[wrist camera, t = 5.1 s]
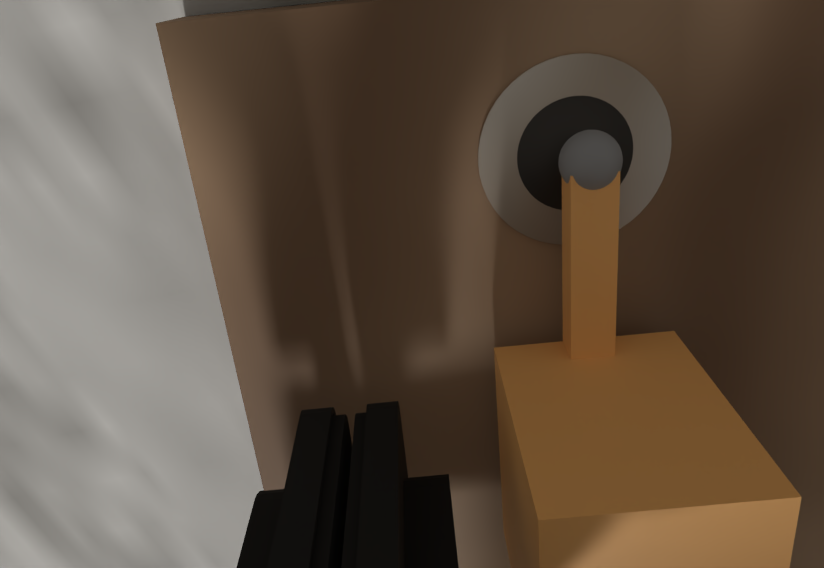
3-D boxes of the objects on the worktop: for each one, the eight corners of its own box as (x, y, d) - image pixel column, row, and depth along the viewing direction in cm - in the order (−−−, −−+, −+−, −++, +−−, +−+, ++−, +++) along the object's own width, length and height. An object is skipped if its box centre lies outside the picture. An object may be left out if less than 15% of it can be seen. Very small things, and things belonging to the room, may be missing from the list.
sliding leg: (684, 113, 10) (853, 197, 6) (654, 583, 14) (747, 807, 10) (481, 134, 10) (530, 229, 7) (506, 595, 14) (546, 823, 10)
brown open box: (1310, -101, 11) (1453, -112, 10) (1082, 494, 16) (1152, 547, 14) (184, 16, 11) (152, 24, 10) (301, 562, 16) (292, 621, 15)
